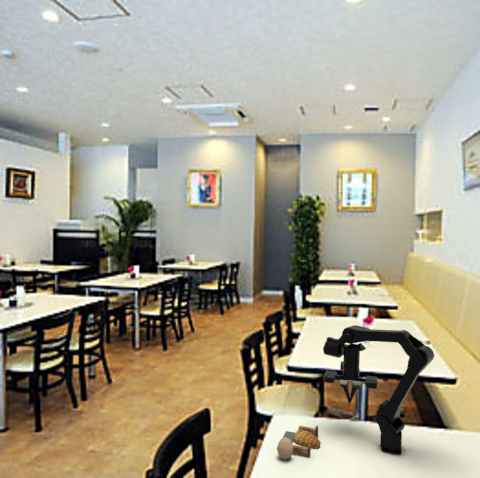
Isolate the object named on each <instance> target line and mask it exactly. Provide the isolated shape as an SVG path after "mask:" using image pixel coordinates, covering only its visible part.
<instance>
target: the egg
mask: <svg viewBox="0 0 480 478" xmlns="http://www.w3.org/2000/svg"><path fill="white" fill-rule="evenodd" d="M293 445H294V444H293V443H292V442H291V441H290V439H288V438H283V437H282V438H281V439H280V440H279V442H278V443H277V447H276V450H277V454H278V456H279V457H280V458H281V459H283V460H288V459H290V458H291V457H292V455H293V454H292V453H293Z"/></svg>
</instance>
